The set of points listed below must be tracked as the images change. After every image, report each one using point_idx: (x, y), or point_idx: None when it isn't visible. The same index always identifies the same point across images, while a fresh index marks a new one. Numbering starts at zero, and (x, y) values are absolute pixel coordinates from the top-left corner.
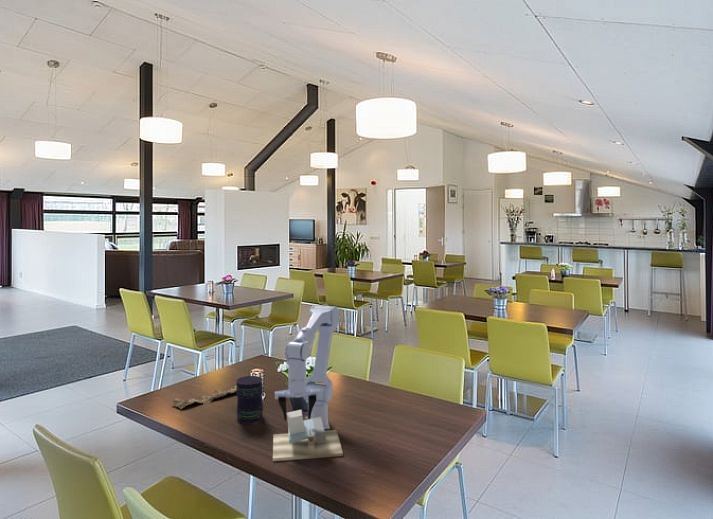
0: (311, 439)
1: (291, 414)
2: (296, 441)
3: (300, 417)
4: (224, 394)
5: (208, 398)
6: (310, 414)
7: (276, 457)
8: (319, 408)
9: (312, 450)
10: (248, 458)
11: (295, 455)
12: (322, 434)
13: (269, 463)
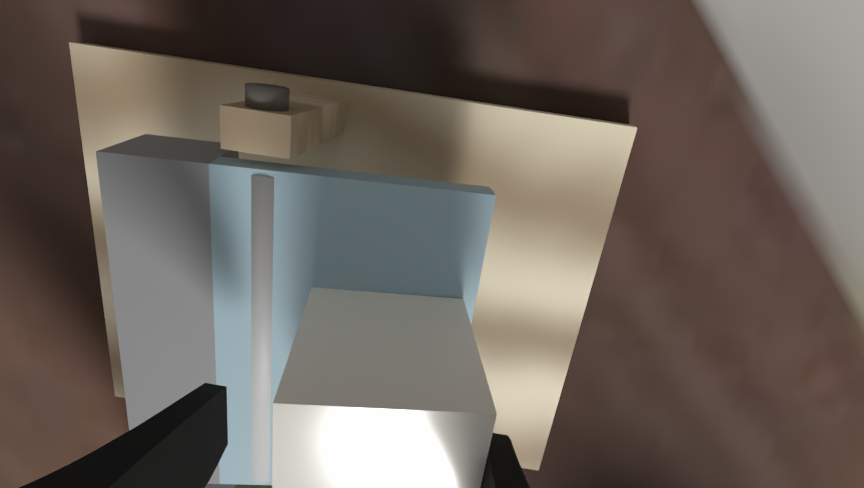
0: (265, 87)
1: None
2: (421, 180)
3: (308, 386)
4: None
5: None
6: (163, 412)
7: (604, 131)
8: None
9: (300, 98)
10: (792, 230)
11: (448, 116)
12: (138, 149)
13: (663, 99)
